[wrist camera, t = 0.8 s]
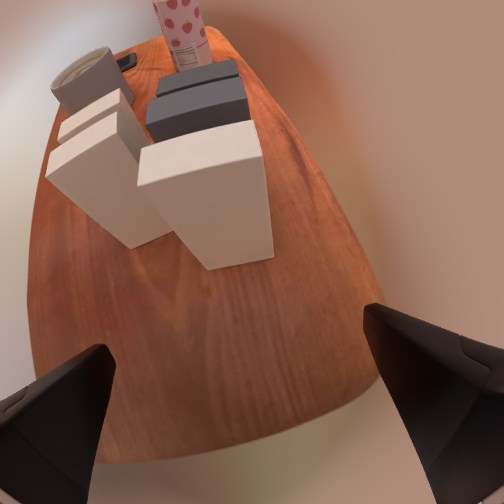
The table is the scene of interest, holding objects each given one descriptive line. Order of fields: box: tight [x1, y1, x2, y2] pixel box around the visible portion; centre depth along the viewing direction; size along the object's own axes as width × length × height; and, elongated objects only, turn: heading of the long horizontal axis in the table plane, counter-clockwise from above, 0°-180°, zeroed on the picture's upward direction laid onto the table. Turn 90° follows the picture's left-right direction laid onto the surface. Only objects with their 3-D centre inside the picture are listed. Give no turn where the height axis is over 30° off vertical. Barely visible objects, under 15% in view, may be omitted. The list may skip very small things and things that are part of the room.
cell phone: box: [116, 53, 136, 72], centre depth 39 cm, size 7×14×1 cm, turn 110°
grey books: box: [145, 59, 251, 144], centre depth 19 cm, size 7×6×12 cm
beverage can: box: [152, 0, 214, 73], centre depth 27 cm, size 6×6×15 cm
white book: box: [137, 120, 275, 270], centre depth 16 cm, size 2×6×12 cm, turn 99°
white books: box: [46, 88, 173, 250], centre depth 19 cm, size 7×6×12 cm
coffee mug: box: [50, 46, 134, 117], centre depth 29 cm, size 13×10×10 cm
